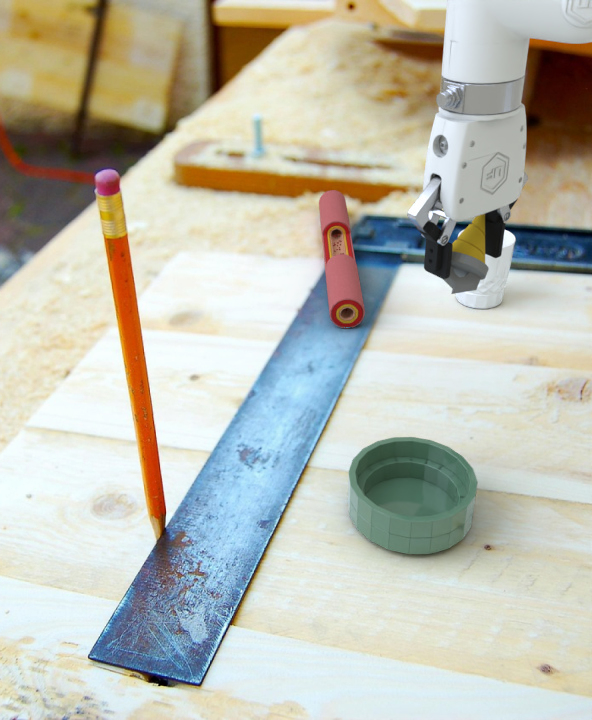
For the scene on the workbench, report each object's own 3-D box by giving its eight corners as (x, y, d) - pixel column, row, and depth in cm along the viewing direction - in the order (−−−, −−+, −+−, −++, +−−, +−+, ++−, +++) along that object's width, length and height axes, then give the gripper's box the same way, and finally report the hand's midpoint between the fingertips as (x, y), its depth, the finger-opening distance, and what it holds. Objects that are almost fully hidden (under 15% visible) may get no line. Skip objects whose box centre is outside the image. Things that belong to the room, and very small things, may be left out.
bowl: (409, 457, 86) (412, 422, 83) (498, 520, 77) (504, 483, 74) (323, 504, 81) (323, 469, 78) (408, 578, 72) (411, 541, 69)
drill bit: (421, 288, 84) (453, 205, 85) (466, 306, 84) (498, 223, 85) (434, 280, 79) (468, 192, 79) (483, 299, 79) (517, 211, 79)
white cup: (472, 281, 120) (479, 221, 114) (517, 297, 114) (526, 236, 109) (440, 298, 116) (446, 237, 110) (485, 317, 110) (494, 253, 105)
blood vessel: (364, 328, 110) (365, 298, 107) (329, 329, 110) (329, 299, 108) (345, 214, 145) (345, 189, 142) (318, 215, 145) (318, 190, 142)
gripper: (442, 122, 66) (428, 301, 76) (574, 83, 74) (545, 252, 83) (384, 105, 72) (377, 275, 82) (512, 71, 79) (492, 231, 89)
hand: (462, 262), depth 82 cm, fingers closed on drill bit, 7 cm apart
